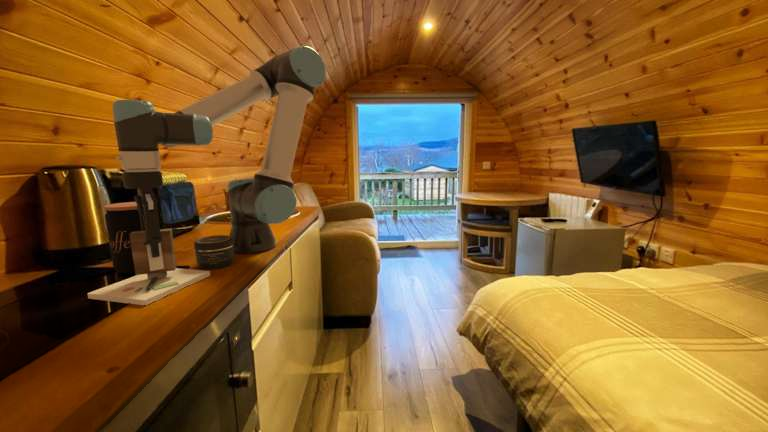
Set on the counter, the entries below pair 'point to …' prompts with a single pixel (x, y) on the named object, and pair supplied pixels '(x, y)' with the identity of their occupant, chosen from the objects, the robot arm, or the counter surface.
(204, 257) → the jar
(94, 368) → the counter surface
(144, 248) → the brown upright panel
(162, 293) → the plate
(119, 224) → the coffee jar
